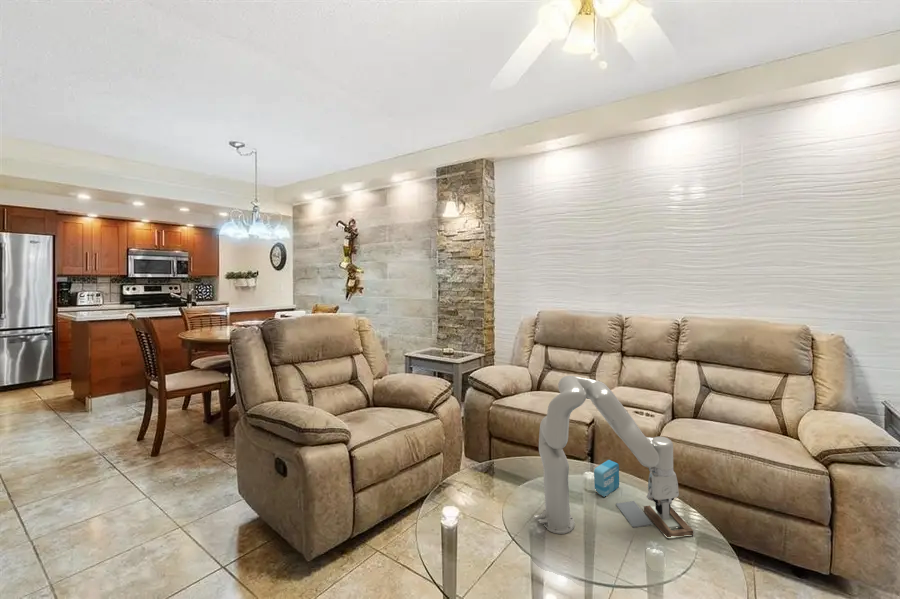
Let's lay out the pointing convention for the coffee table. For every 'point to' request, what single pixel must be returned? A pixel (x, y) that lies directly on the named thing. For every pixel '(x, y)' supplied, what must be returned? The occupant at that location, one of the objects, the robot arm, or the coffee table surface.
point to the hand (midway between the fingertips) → (662, 511)
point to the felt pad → (634, 514)
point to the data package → (606, 477)
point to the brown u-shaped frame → (664, 527)
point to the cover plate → (669, 522)
